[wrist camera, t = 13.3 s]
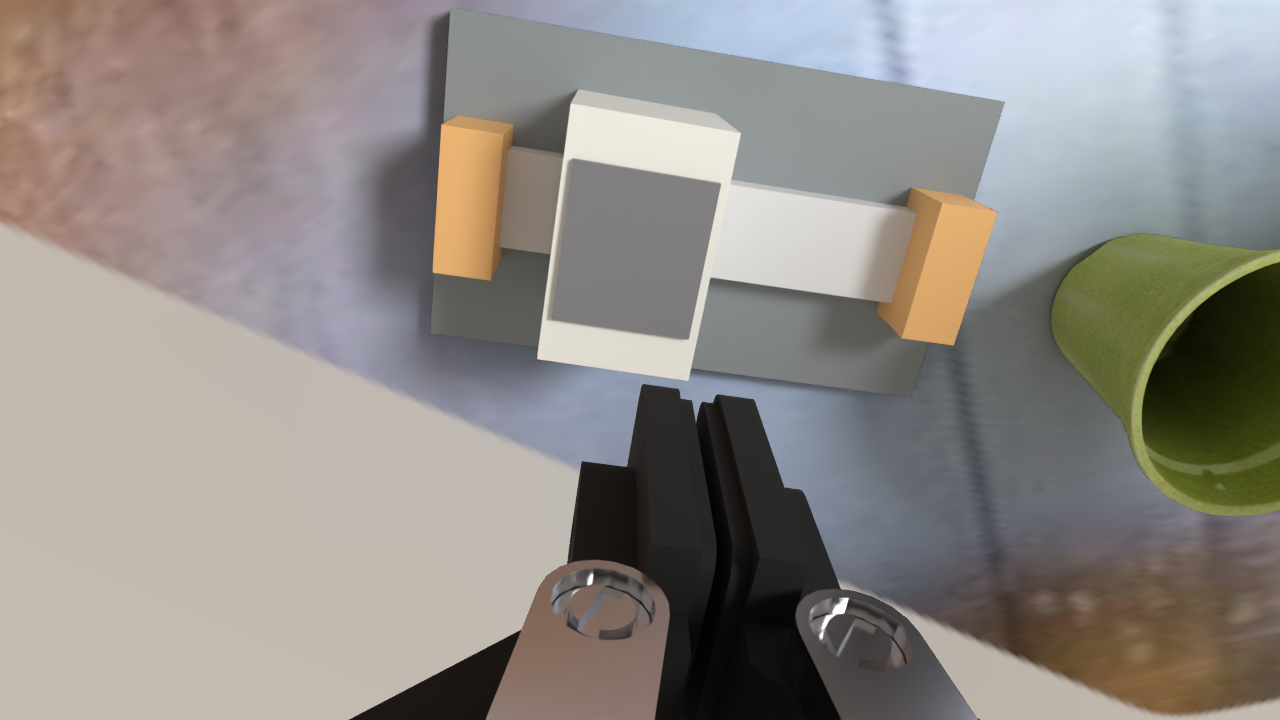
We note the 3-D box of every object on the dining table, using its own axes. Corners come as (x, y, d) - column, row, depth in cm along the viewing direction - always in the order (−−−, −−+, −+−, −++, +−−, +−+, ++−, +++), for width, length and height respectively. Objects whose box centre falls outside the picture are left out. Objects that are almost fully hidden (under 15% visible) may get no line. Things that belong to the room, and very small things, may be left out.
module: (716, 113, 29) (742, 133, 23) (675, 319, 32) (689, 383, 26) (578, 89, 28) (570, 103, 22) (550, 300, 31) (536, 361, 25)
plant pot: (988, 405, 35) (1101, 517, 27) (1033, 189, 31) (1179, 244, 23) (1195, 406, 35) (1369, 516, 27) (1264, 192, 31) (1487, 247, 23)
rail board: (992, 99, 30) (1046, 109, 26) (902, 387, 34) (938, 430, 30) (455, 8, 28) (431, 4, 24) (435, 325, 32) (413, 362, 29)
